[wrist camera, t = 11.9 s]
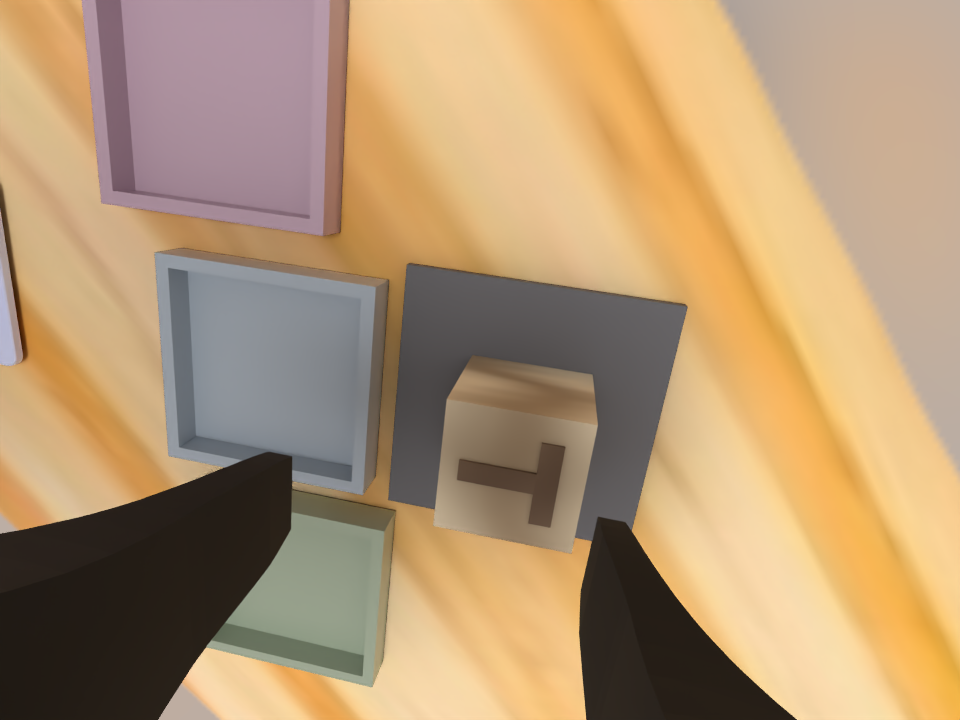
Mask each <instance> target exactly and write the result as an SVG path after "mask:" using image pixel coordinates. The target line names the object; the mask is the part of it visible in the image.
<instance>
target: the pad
mask: <svg viewBox="0 0 960 720" xmlns="http://www.w3.org/2000/svg"><path fill="white" fill-rule="evenodd" d="M686 311H687V306H686V305H685V304H679V303H672V302H666V301H659V300H652V299H646V298H639V297H632V296H626V295H619V294H612V293H606V292H599V291H592V290H586V289H579V288H572V287H566V286H559V285H552V284H546V283H539V282H533V281H526V280H519V279H513V278H506V277H499V276H493V275H486V274H479V273H473V272H466V271H459V270H453V269H446V268H439V267H433V266H426V265H419V264H413V263H409V264H407V269H406V282H405V294H404V307H403V320H402V332H401V345H400V358H399V370H398V383H397V396H396V409H395V421H394V434H393V447H392V459H391V472H390V485H389V497H388V500H391V501H396V502H401V503H406V504H411V505H416V506H421V507H426V508H431V509H435V505H436V495H437V486H438V477H439V467H440V458H441V448H442V439H443V430H444V420H445V411H446V402H447V398H448V396H449V394H450V393H451V391H452V389H453V388H454V386H455V384H456V382H457V381H458V379H459V377H460V376H461V374H462V372H463V370H464V369H465V367H466V365H467V364H468V362H469V360H470V358H471V357H472V355H476V356H482V357H488V358H494V359H500V360H506V361H512V362H519V363H525V364H531V365H537V366H543V367H549V368H555V369H561V370H567V371H574V372H580V373H586V374H592V375H593V383H594V393H595V402H596V412H597V421H598V427H597V432H596V437H595V442H594V447H593V452H592V456H591V461H590V466H589V471H588V476H587V481H586V485H585V490H584V495H583V500H582V505H581V510H580V515H579V519H578V524H577V529H576V534H575V538H580V539H585V540H590V541H592V540H593V535H594V531H595V527H596V522H597V518H598V517H603V518H608V519H613V520H618V521H623V522H626V523H627V525H628V526H629V528H630V529H631V531H632V527H633V523H634V519H635V515H636V511H637V507H638V503H639V499H640V495H641V491H642V487H643V483H644V479H645V475H646V471H647V467H648V463H649V459H650V455H651V451H652V447H653V443H654V439H655V435H656V431H657V427H658V423H659V419H660V415H661V411H662V407H663V403H664V399H665V395H666V391H667V387H668V383H669V379H670V375H671V371H672V367H673V363H674V359H675V355H676V351H677V347H678V343H679V339H680V335H681V331H682V327H683V323H684V319H685V315H686Z"/></svg>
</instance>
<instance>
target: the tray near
mask: <svg viewBox="0 0 960 720" xmlns="http://www.w3.org/2000/svg"><path fill="white" fill-rule="evenodd" d="M82 7H83V17H84V28H85V38H86V48H87V59H88V69H89V79H90V89H91V100H92V110H93V120H94V131H95V141H96V151H97V162H98V172H99V182H100V192H101V203H103V204H110V205H117V206H123V207H130V208H137V209H144V210H151V211H157V212H164V213H171V214H178V215H185V216H191V217H198V218H205V219H212V220H219V221H225V222H232V223H239V224H246V225H252V226H259V227H266V228H273V229H280V230H286V231H293V232H300V233H307V234H314V235H320V236H325V235H330V234H334V233H339V232H340V224H341V198H342V172H343V147H344V121H345V95H346V70H347V44H348V18H349V0H82Z"/></svg>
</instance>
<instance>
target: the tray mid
mask: <svg viewBox="0 0 960 720" xmlns="http://www.w3.org/2000/svg"><path fill="white" fill-rule="evenodd" d="M155 265H156V280H157V294H158V309H159V323H160V338H161V352H162V367H163V381H164V396H165V410H166V425H167V439H168V454H169V456H171V457H176V458H181V459H186V460H191V461H196V462H201V463H206V464H211V465H216V466H221V467H228V466H230V465H233V464H235V463H238V462H240V461H243V460H245V459H248V458H250V457H253V456H256V455H259V454H262V453H265V452H274V453H279V454H284V455H289V456H292V481H295V482H300V483H305V484H310V485H315V486H320V487H325V488H330V489H335V490H340V491H345V492H350V493H355V494H360V495H363V494H364V493H365V491H366V490H367V488H368V487H369V485H370V484H371V482H372V481H373V479H374V478H375V476H376V462H377V448H378V433H379V419H380V404H381V390H382V376H383V361H384V347H385V332H386V318H387V303H388V289H389V280H386V279H379V278H373V277H367V276H360V275H354V274H347V273H341V272H334V271H328V270H321V269H315V268H308V267H302V266H295V265H289V264H282V263H276V262H270V261H263V260H257V259H250V258H244V257H237V256H231V255H224V254H218V253H211V252H205V251H198V250H192V249H185V248H178V249H172V250H166V251H160V252H155Z"/></svg>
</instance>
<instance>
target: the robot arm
mask: <svg viewBox="0 0 960 720" xmlns="http://www.w3.org/2000/svg"><path fill="white" fill-rule="evenodd" d="M22 359H23V352H22V346H21V339H20V333H19V326H18V320H17V313H16V307H15V300H14V294H13V287H12V281H11V275H10V268H9V262H8V255H7V249H6V242H5V236H4V229H3V223H2V217H1V210H0V364H1V365H6V366H12V365H16V364H18V363H20V362H21V361H22ZM291 513H292V456H289V455H284V454H279V453H274V452H265V453H262V454H259V455H256V456H253V457H250V458H248V459H245V460H243V461H240V462H238V463H235V464H233V465H230V466H228V467H225V468H223V469H220V470H218V471H215V472H213V473H210V474H208V475H205V476H203V477H200V478H198V479H195V480H193V481H190V482H188V483H185V484H182V485H180V486H177V487H174V488H171V489H169V490H166V491H163V492H160V493H157V494H155V495H152V496H149V497H146V498H144V499H141V500H138V501H135V502H132V503H128V504H125V505H122V506H119V507H115V508H112V509H108V510H105V511H101V512H97V513H94V514H90V515H86V516H83V517H79V518H74V519H70V520H65V521H61V522H56V523H52V524H47V525H43V526H38V527H33V528H29V529H24V530H19V531H13V532H7V533H2V534H0V720H158V719H159V717H160V716H161V714H162V712H163V711H164V709H165V708H166V706H167V705H168V703H169V701H170V700H171V698H172V697H173V695H174V694H175V692H176V690H177V689H178V687H179V686H180V684H181V683H182V681H183V680H184V678H185V677H186V675H187V674H188V672H189V670H190V669H191V667H192V666H193V664H194V663H195V662H196V660H197V659H198V657H199V656H200V655H201V653H202V652H203V651H204V649H205V648H206V646H207V645H208V644H209V643H210V641H211V640H212V639H213V638H214V636H215V635H216V634H217V632H218V631H219V630H220V629H221V627H222V626H223V625H224V624H225V622H226V621H227V620H228V619H229V617H230V616H231V615H232V614H233V612H234V611H235V610H236V608H237V607H238V606H239V605H240V603H241V602H242V601H243V600H244V598H245V597H246V596H247V595H248V593H249V592H250V591H251V589H252V588H253V587H254V586H255V584H256V583H257V582H258V580H259V579H260V578H261V577H262V575H263V574H264V573H265V571H266V570H267V569H268V567H269V566H270V565H271V563H272V561H273V560H274V558H275V556H276V555H277V553H278V551H279V550H280V548H281V546H282V545H283V543H284V541H285V539H286V538H287V536H288V534H289V532H290V530H291ZM579 637H580V650H581V662H582V674H583V686H584V697H585V709H586V720H797V719H795V718H794V717H793V716H792V715H791V714H789V713H788V712H787V711H786V710H785V709H784V708H782V707H781V706H780V705H779V704H778V703H776V702H775V701H774V700H773V699H772V698H771V697H770V696H769V695H767V694H766V693H765V692H764V691H763V690H762V689H761V688H760V687H759V686H758V685H757V684H755V683H754V682H753V681H752V680H751V679H750V678H749V677H748V676H747V675H746V674H745V673H744V672H743V671H742V670H741V669H739V668H738V667H737V666H736V665H735V664H734V663H733V662H732V661H731V660H730V659H729V658H728V657H727V655H726V654H725V653H724V652H723V651H722V650H721V649H720V648H719V647H718V646H717V645H716V644H715V643H714V642H713V641H712V639H711V638H710V637H709V636H708V635H707V634H706V633H705V632H704V631H703V630H702V628H701V627H700V626H699V625H698V624H697V623H696V621H695V620H694V619H693V618H692V617H691V615H690V614H689V613H688V612H687V610H686V609H685V608H684V607H683V605H682V604H681V603H680V602H679V600H678V599H677V598H676V596H675V595H674V594H673V592H672V591H671V590H670V588H669V587H668V585H667V584H666V583H665V581H664V580H663V578H662V577H661V576H660V574H659V573H658V571H657V570H656V568H655V567H654V565H653V564H652V562H651V561H650V559H649V558H648V556H647V555H646V553H645V552H644V550H643V548H642V547H641V545H640V544H639V542H638V540H637V539H636V537H635V536H634V534H633V533H632V531H631V529H630V528H629V526H628V525H627V523H626V522H623V521H618V520H613V519H608V518H603V517H598V518H597V522H596V527H595V531H594V535H593V540H592V544H591V548H590V553H589V557H588V561H587V566H586V570H585V575H584V579H583V583H582V588H581V598H580V626H579Z"/></svg>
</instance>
